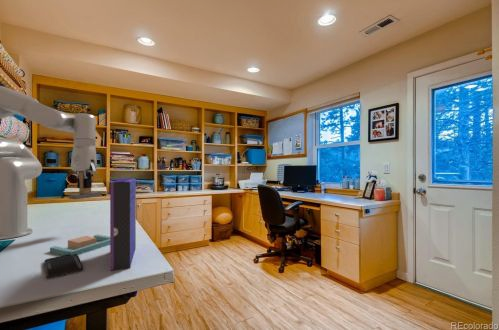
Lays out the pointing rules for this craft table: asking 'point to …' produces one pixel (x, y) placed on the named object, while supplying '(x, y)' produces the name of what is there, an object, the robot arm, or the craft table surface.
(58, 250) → the frame
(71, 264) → the phone
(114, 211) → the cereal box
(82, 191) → the pusher
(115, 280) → the craft table surface
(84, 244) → the tile
